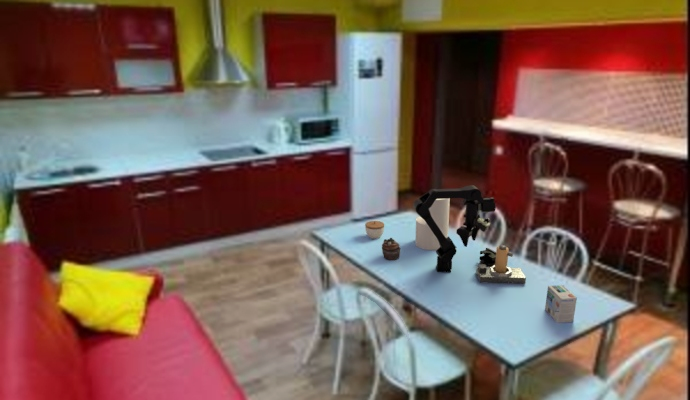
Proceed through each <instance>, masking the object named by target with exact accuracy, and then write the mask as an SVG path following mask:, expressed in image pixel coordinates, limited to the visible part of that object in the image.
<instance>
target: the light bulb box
mask: <svg viewBox="0 0 690 400" xmlns="http://www.w3.org/2000/svg"><path fill="white" fill-rule="evenodd" d="M545 299H546V300H545V305H544V309H545V311H546V312H547V313H548V314H549V315H550V316H551V318H552V319H553V320H554V321H555V322H556V323H557V324H560V323H574V320H575V319H574V318H575V312H576V305H577V299H578V297H577V296H576V295H574V293H573V292H571V291H570V289H568V288H567V287H566V286H565V285H562V284H561V285H560V284H559V285H548V286H547V292H546V298H545Z"/></svg>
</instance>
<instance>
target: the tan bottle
mask: <svg viewBox="0 0 690 400" xmlns="http://www.w3.org/2000/svg"><path fill="white" fill-rule="evenodd" d="M495 252H496V261H495V271H496V272H498V273H506V272H507V267H508V259H509V257H511V258H512V257H513V255H514V253H513V252H510V251H509V247H507V246H506V245H504V244H500V245H499V246H496V250H495Z"/></svg>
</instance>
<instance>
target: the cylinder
mask: <svg viewBox="0 0 690 400" xmlns="http://www.w3.org/2000/svg"><path fill="white" fill-rule="evenodd" d="M450 200H451V198H448V199H436V200H435V202H434V203H433V205H432V206H431V207H430V208H429V211H430V214H431V217H432V218H433V220H434V221H435V223H436V224H437V226H438V227H439V229H440V230H441V232H442V233H443V235H444V236H445V237H446V238H447V237H448V236H449V220H450V205H451V204H450ZM414 241H415V242H414V243H415V245H416V247H417V248H419V249H422V250H426V251H436V250H437V249H438V248H440V245H439V242H438V239H437V238H436V236H435V235H434V233H433V232H432V230H431V229H430V227H429V226H428V224H427V223H426V222H425V220H424V219H423V218H421V217H420V216H419V215H418V217H416V219H415V240H414Z"/></svg>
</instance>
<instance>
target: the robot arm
mask: <svg viewBox="0 0 690 400" xmlns="http://www.w3.org/2000/svg"><path fill="white" fill-rule="evenodd" d="M448 198H450V199H463V200H461V203H462V204H463V206H465V214H463V218H464V222H463V223H462V225H463V226H459V227H458V228H457V229H456V235H458V236H459V238H460V239H461V242H462V244H463V247H468V243H469V239H470V237H471V239H472V241H476V239H477V236H478V233H479V231H481V232H483V233H485V232H486V231H488V229H489V227H490V226H491V220H490V218H489V217H486V218H481V215H480V214H479V211H480V213H494V212H496V209H497V207H496V206H497V205H496V202H495V198H494V197H483V196H482V192H481V190H480V189H479V188H478V187H477V186H475V185H472V184H471V185H464V186H463V187H460V188H439V189H438V188H431V189H429V190H428V191H427V192H426V193H424V194H423V195H421V196H420V197H419V198H418V199H416V200H414V201H413V202H412V207H413V210H414V211H415V212H416V214H417V215H418V217H419V216H420V217H421V218H423V219H424V220H425V222H426V223H427V224H428V226H429V227H430V229H431V230H432V232H433V233H434V235H435V236H436V238H437V239H438V242H439V245H440V248H438V249H437V250H435V253H436V254H437V256H436V266H435V267H436V272H437V273H451V272H452V269H453V261H452V260H453V258H454V256H455V255H456V254H457V246H456V245H455V243H454V242H453V240H452V239H451V238H450V236H449V235H448V237H447V238H446V237H445V236H444V235H443V233H442V232H441V230H440V229H439V227H438V226H437V224H436V223H435V221H434V220H433V218H432V217H431V214H430V211H429V208H430V207H431V206H432V205H433V203H434V202H435V200H436V199H448Z"/></svg>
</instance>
